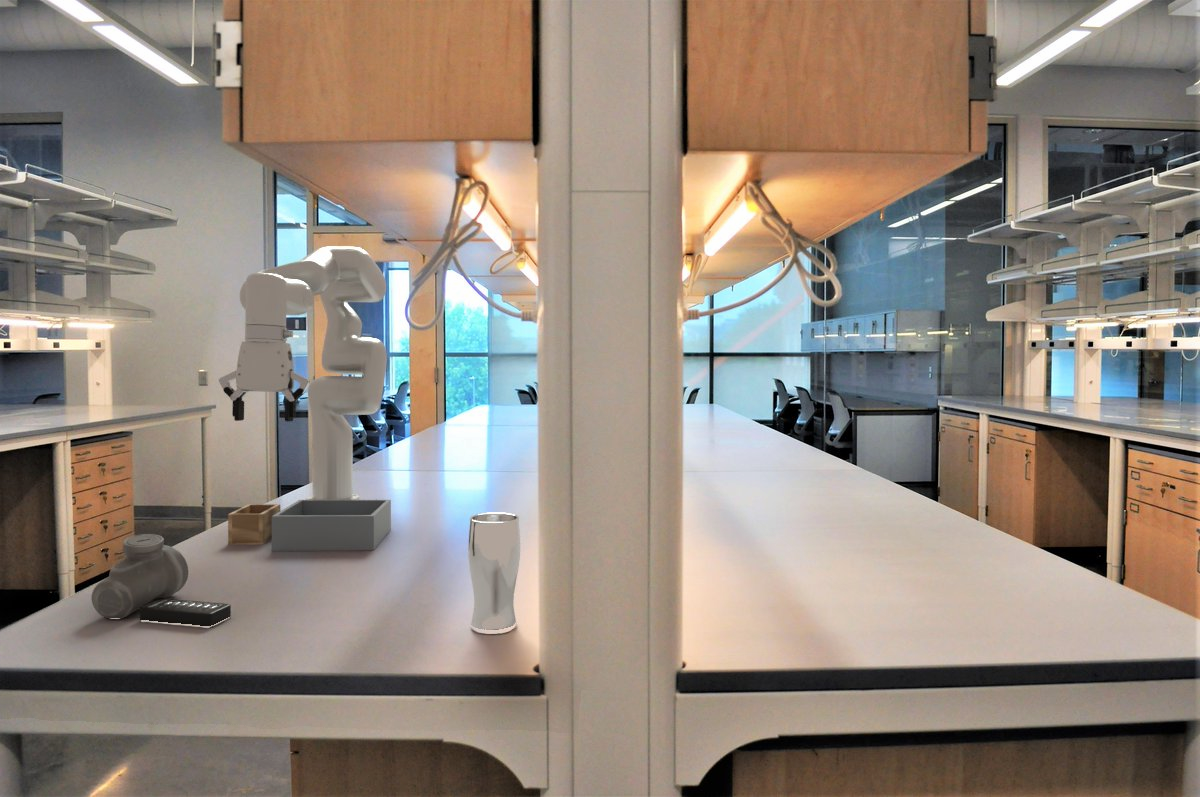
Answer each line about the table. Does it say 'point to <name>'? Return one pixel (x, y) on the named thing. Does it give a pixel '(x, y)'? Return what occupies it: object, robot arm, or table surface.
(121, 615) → the pipe fitting
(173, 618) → the multiport hub
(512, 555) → the beer glass
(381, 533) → the box
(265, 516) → the oak crate
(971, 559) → the table surface
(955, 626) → the table surface
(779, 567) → the table surface
